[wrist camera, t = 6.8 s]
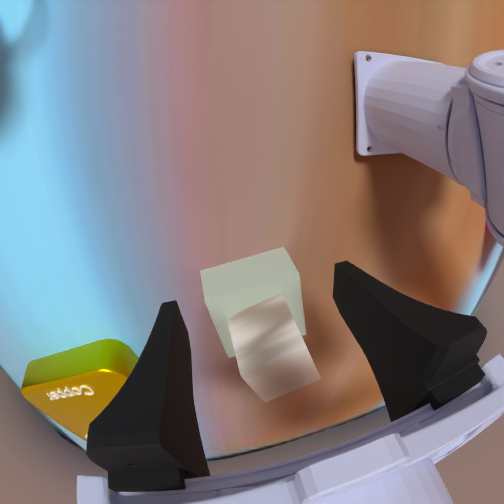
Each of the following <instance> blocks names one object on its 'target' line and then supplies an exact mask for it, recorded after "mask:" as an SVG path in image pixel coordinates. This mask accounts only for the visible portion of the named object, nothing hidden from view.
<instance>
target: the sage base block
mask: <svg viewBox="0 0 504 504" xmlns="http://www.w3.org/2000/svg"><path fill="white" fill-rule="evenodd" d="M200 273H201V280H202V287H203V294H204V300H205V303H206V306H207V308H208V311H209V313H210V316H211V318H212V321H213V323H214V325H215V328H216V330H217V332H218V335H219V337H220V340H221V342H222V344H223V347H224V349H225V351H226V354H227V356H228V358H231V357H235V356H236V355H235V351H234V347H233V343H232V339H231V334H230V330H229V326H228V322H227V317H229V316H231V315H233V314H235V313H238V312H240V311H242V310H244V309H247V308H249V307H251V306H253V305H256V304H258V303H260V302H262V301H264V300H267V299H269V298H271V297H273V296H275V295H277V294H280V293H282V294H283V297H284V299H285V301H286V303H287V305H288V307H289V310H290V312H291V314H292V316H293V318H294V320H295V322H296V325H297V327H298V329H299V331H300V333H301V336H303V335H306V329H305V320H304V310H303V301H302V293H301V284H300V276H299V272H298V271H297V269H296V267H295V265H294V264H293V262H292V260H291V259H290V257H289V255H288V253H287V252H286V250H285V248H284V247H281V248H278V249H274V250H271V251H267V252H264V253H261V254H257V255H254V256H250V257H247V258H243V259H240V260H236V261H233V262H229V263H226V264H222V265H219V266H215V267H212V268H208V269H205V270H201V271H200Z"/></svg>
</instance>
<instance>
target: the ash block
mask: <svg viewBox="0 0 504 504" xmlns="http://www.w3.org/2000/svg"><path fill="white" fill-rule="evenodd" d="M227 322H228V326H229V330H230V334H231V339H232V343H233V347H234V351H235V355H236V360H237V364H238V368H239V372H240V376H241V377H242V379H243V380H244V381H245V382H246V383H247V384H248V385H249V386H250V387H251V388H252V390H253V391H254V392H255V393H256V394H257V395H258V396H259V397H260V398H261V399H262V400H263V401H264V403H266V402H268V401H271V400H273V399H276V398H278V397H281V396H283V395H286V394H288V393H290V392H293V391H295V390H298V389H300V388H302V387H304V386H307V385H309V384H311V383H313V382H316V381H318V380H320V379H321V377H320V375H319V373H318V371H317V368H316V366H315V364H314V362H313V360H312V357H311V355H310V353H309V351H308V349H307V346H306V344H305V342H304V340H303V338H302V336H301V333H300V331H299V329H298V327H297V325H296V322H295V320H294V318H293V316H292V314H291V312H290V310H289V307H288V305H287V303H286V301H285V299H284V297H283V294H282V293H280V294H277V295H275V296H273V297H271V298H269V299H267V300H264V301H262V302H260V303H258V304H256V305H253V306H251V307H249V308H247V309H244V310H242V311H240V312H238V313H235V314H233V315H231V316H229V317H227Z"/></svg>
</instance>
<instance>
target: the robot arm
mask: <svg viewBox="0 0 504 504" xmlns="http://www.w3.org/2000/svg"><path fill="white" fill-rule="evenodd" d="M366 55H367V56H368V58H369V60H368V61H367V60H366ZM354 64H355V84H356V150H357V153H358V154H360V155H362V156H368V155H380V154H394V153H403V154H405V155H407V156H409V157H411V158H413V159H415V160H417V161H419V162H421V163H423V164H425V165H426V166H428V167H430V168H432V169H434V170H436V171H438V172H439V173H441V174H443V175H445V176H447V177H448V178H450V179H452V180H454V181H455V182H457V183H459V184H461V185H462V186H464V187H466V188H467V189H468V190H469V192H470V194H471V199H472V200H473V201H475V202H476V203H478V204H479V205H481V206H482V207H484V208H485V217H486V222H487V226H488V228H489V231H490V233H491V234H492V236H493V237H494V238H495V239H496V241H497V242H498V243H499V244H500V245H502V246H503V247H504V50H496V51H490V52H486V53H483V54H481V55H479V56H477V57H476V58H475V59H474V60H473V61H472V63H471V64H470V65H469V66H468V67H467V68H461V67H454V66H448V65H445V64H442V63H437V62H432V61H427V60H422V59H417V58H411V57H405V56H398V55H391V54H383V53H375V52H365V51H358V52H356V53H355V55H354ZM368 146H370V149H369V151H367V148H368ZM333 299H334V301H335V303H336V306H337V308H338V310H339V312H340V314H341V316H342V318H343V319H344V321H345V323H346V324H347V326H348V327H349V329H350V331H351V332H352V334H353V335H354V337H355V339H356V340H357V342H358V343H359V345H360V347H361V348H362V350H363V352H364V354H365V355H366V357H367V359H368V362H369V364H370V366H371V368H372V370H373V373H374V375H375V378H376V380H377V382H378V385H379V387H380V390H381V393H382V396H383V398H384V401H385V404H386V407H387V410H388V413H389V417H390V420H391V423H389V424H387V425H384V426H382V427H380V428H377V429H375V430H373V431H370V432H368V433H366V434H363V435H361V436H358V437H356V438H353V439H351V440H348V441H345V442H342V443H340V444H337V445H334V446H331V447H328V448H326V449H323V450H319V451H316V452H313V453H310V454H307V455H303V456H300V457H296V458H293V459H289V460H285V461H282V462H278V463H274V464H270V465H266V466H261V467H257V468H253V469H248V470H242V471H237V472H232V473H226V474H220V475H214V476H210V473H209V469H208V466H207V462H206V458H205V454H204V450H203V446H202V441H201V437H200V432H199V427H198V422H197V417H196V412H195V406H194V398H193V384H192V362H191V348H190V342H189V335H188V331H187V328H186V326H185V323H184V320H183V318H182V315H181V312H180V310H179V307H178V304H177V302H176V300H175V301H170V302H165V303H162V305H161V307H160V310H159V313H158V316H157V319H156V321H155V324H154V327H153V329H152V331H151V334H150V336H149V339H148V341H147V343H146V345H145V347H144V350H143V352H142V354H141V356H140V358H139V360H138V362H137V363H136V365H135V367H134V369H133V370H132V372H131V374H130V375H129V377H128V378H127V380H126V381H125V383H124V385H123V386H122V387H121V389H120V390H119V392H118V393H117V394H116V395H115V397H114V398H113V399H112V400H111V402H110V403H109V404H108V405H107V406H106V408H105V409H104V410H103V411H102V412H101V413H100V414H99V415H98V416H97V417H96V418H95V419H94V420H93V421H92V422H91V423H90V424H89V429H88V434H87V451H86V454H87V456H88V458H89V459H90V460H91V461H93V462H94V463H95V464H97V465H99V466H100V467H102V468H103V469H105V470H107V471H108V478H105V477H100V476H82V475H79V476H77V504H454V503H453V501H452V499H451V497H450V495H449V493H448V491H447V489H446V487H445V485H444V483H443V481H442V479H441V477H440V475H439V473H438V471H437V469H436V467H435V465H434V464H435V463H437V462H438V461H440V460H442V459H443V458H445V457H446V456H447V455H449V454H451V453H452V452H453V451H455V450H456V449H458V448H459V447H461V446H462V445H463V444H465V443H466V442H468V441H469V440H470V439H472V438H473V437H474V436H476V435H477V434H478V433H480V432H481V431H482V430H483V429H485V428H486V427H487V426H489V425H490V424H491V423H492V422H494V421H495V420H496V419H497V418H499V417H500V416H501V415H502V414H503V413H504V359H503V357H502V356H501V355H500V354H497V355H496V356H494V357H493V358H492V359H490V360H489V361H487V362H486V363H485V364H484V365H483V366H482V367H480V366H479V365H478V362H479V358H478V357H477V355H476V354H477V352H478V350H479V349H480V347H481V345H482V344H483V342H484V340H485V338H486V334H487V330H486V328H485V327H484V326H483V325H482V324H481V323H480V321H479V320H478V319H477V318H476V317H474V316H468V315H463V314H457V313H453V312H449V311H445V310H442V309H439V308H436V307H433V306H430V305H427V304H424V303H422V302H419V301H417V300H415V299H412V298H410V297H408V296H406V295H404V294H402V293H400V292H398V291H396V290H394V289H392V288H391V287H389V286H387V285H385V284H384V283H382V282H380V281H379V280H377V279H375V278H374V277H372V276H370V275H369V274H367V273H366V272H364V271H363V270H361V269H359V268H358V267H356V266H355V265H353V264H351V263H350V262H348V261H344V262H340V263H336V264H335V270H334V287H333Z"/></svg>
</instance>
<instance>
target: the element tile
mask: <svg viewBox="0 0 504 504" xmlns="http://www.w3.org/2000/svg"><path fill="white" fill-rule="evenodd" d="M138 360H139V357H138V356H137V355H136V354H135V353H134V352H133V351H132V349H131V348H130V347H128V346H127V345H126V344H124V343H123V342H121V341H118V340H114V339H104V340H99V341H96V342H93V343H90V344H87V345H83V346H80V347H77V348H73V349H70V350H67V351H64V352H60V353H57V354H54V355H50V356H47V357H43V358H40V359H37V360H33V361H31V362H29V364H28V365H27V369H26V372H25V376H24V379H23V383H22V387H21V393H22V394H23V396H24V397H25V398H26V399H27V400H28V401H29V402H30V403H31V404H33V405H34V406H35V407H37V408H38V409H39V410H41V411H42V412H43V413H45V414H46V415H47V416H49V417H50V418H52V419H53V420H54V421H56V422H57V423H59V424H60V425H62V426H63V427H65V428H66V429H68V430H69V431H71V432H72V433H74V434H75V435H77V436H78V437H80V438H82V439H83V440H85V441H87V434H88V429H89V424H90V423H91V422H92V421H93V420H94V419H95V418H96V417H97V416H98V415H99V414H100V413H101V412H102V411H103V410H104V409H105V408H106V406H107V405H108V404H109V403H110V402H111V400H112V399H113V398H114V397H115V395H116V394H117V393H118V392H119V390H120V389H121V387H122V386H123V385H124V383H125V381H126V380H127V378H128V377H129V375H130V374H131V372H132V370H133V369H134V367H135V365H136V363H137V362H138Z"/></svg>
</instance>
